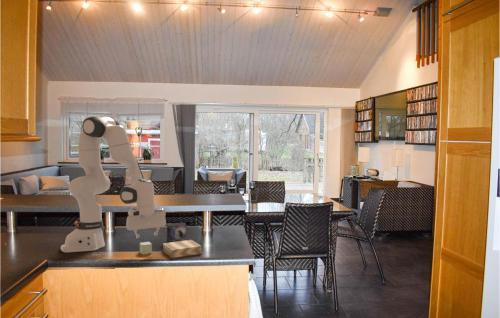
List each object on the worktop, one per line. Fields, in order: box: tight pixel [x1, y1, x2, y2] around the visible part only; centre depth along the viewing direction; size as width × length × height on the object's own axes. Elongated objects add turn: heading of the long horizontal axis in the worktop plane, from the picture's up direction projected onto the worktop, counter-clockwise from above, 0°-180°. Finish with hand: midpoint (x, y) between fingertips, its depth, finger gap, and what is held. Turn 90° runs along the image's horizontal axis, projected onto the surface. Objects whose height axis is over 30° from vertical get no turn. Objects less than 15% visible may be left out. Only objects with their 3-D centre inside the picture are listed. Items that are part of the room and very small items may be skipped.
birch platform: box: [162, 239, 202, 259], centre depth 222 cm, size 16×14×4 cm
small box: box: [166, 222, 187, 243], centre depth 241 cm, size 11×6×10 cm, turn 105°
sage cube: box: [139, 241, 153, 255], centre depth 221 cm, size 5×5×5 cm
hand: (146, 236), depth 220 cm, fingers open, 8 cm apart
